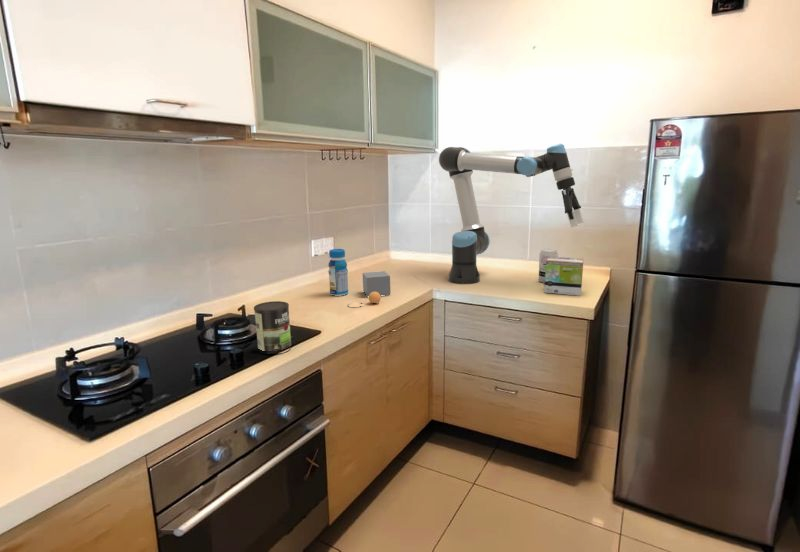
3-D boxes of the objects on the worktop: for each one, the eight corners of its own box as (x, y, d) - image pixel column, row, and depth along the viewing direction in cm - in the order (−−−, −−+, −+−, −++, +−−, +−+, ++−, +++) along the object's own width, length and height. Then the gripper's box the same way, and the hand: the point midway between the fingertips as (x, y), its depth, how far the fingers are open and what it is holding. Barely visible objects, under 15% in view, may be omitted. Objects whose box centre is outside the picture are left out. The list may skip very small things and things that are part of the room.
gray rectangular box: (363, 291, 209) (362, 272, 207) (385, 289, 212) (384, 271, 210) (367, 297, 200) (366, 277, 198) (390, 295, 202) (389, 275, 200)
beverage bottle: (345, 296, 202) (343, 251, 197) (327, 296, 203) (324, 251, 199) (351, 291, 210) (349, 248, 205) (333, 291, 211) (330, 248, 207)
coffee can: (298, 345, 146) (295, 302, 143) (277, 357, 137) (273, 312, 134) (273, 341, 151) (269, 299, 148) (250, 352, 142) (246, 308, 138)
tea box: (543, 293, 200) (545, 260, 197) (545, 288, 209) (547, 255, 206) (581, 296, 194) (583, 261, 191) (581, 290, 204) (583, 257, 200)
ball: (367, 302, 192) (367, 290, 191) (379, 301, 194) (379, 289, 192) (370, 305, 188) (369, 293, 187) (382, 304, 189) (381, 292, 188)
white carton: (554, 279, 224) (555, 249, 221) (558, 283, 216) (559, 252, 213) (537, 279, 225) (538, 249, 221) (540, 283, 217) (541, 252, 213)
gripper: (566, 176, 193) (580, 225, 194) (578, 175, 214) (590, 219, 215) (549, 182, 197) (562, 230, 198) (562, 181, 218) (574, 224, 219)
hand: (577, 224), depth 207 cm, fingers open, 13 cm apart
